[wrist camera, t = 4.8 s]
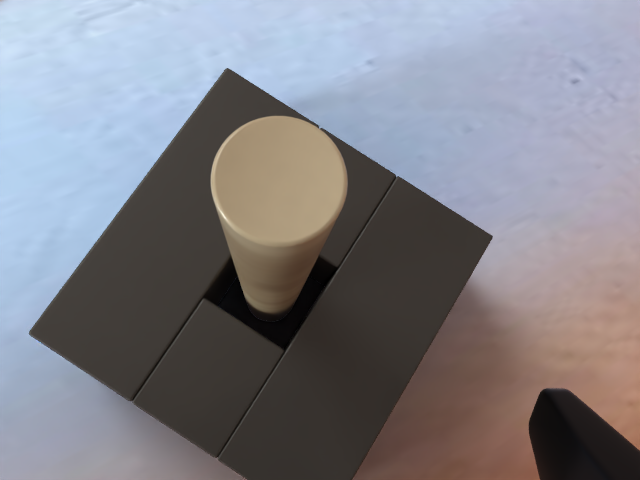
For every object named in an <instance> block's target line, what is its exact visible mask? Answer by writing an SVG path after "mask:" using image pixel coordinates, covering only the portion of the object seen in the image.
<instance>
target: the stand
mask: <svg viewBox="0 0 640 480" xmlns="http://www.w3.org/2000/svg"><path fill="white" fill-rule="evenodd" d="M269 116H288V117H294V118H297V119H301V120H303V121H306V122H308V123H310V124H312V125H314V126H316V127H317V128H319V126H318V125H317V124H315V123H313V122H312V121H310V120H309V119H307V118H306V117H304V116H303V115H301V114H299V113H298V112H296V111H295V110H293V109H292V108H290V107H288V106H287V105H285V104H284V103H282V102H281V101H279V100H277V99H276V98H274V97H273V96H271V95H270V94H268V93H266V92H265V91H263V90H262V89H260V88H259V87H257V86H255V85H254V84H252V83H251V82H249V81H248V80H246V79H244V78H243V77H241V76H240V75H238V74H237V73H235V72H233V71H232V70H230V69H228V68H227V69H225V70H224V72H223V73H222V74H221V76H220V77H219V78H218V80H217V81H216V82H215V84H214V85H213V87H212V88H211V89H210V91H209V92H208V93H207V95H206V96H205V97H204V99H203V100H202V101H201V103H200V104H199V105H198V107H197V108H196V109H195V111H194V112H193V113H192V115H191V116H190V117H189V119H188V120H187V121H186V123H185V124H184V125H183V127H182V128H181V129H180V131H179V132H178V133H177V135H176V136H175V137H174V139H173V140H172V141H171V143H170V144H169V145H168V147H167V148H166V149H165V151H164V152H163V153H162V155H161V156H160V157H159V159H158V160H157V161H156V163H155V164H154V165H153V167H152V168H151V169H150V171H149V172H148V173H147V175H146V176H145V177H144V179H143V180H142V181H141V183H140V184H139V185H138V187H137V188H136V189H135V191H134V192H133V193H132V195H131V196H130V198H129V199H128V200H127V202H126V203H125V204H124V206H123V207H122V208H121V210H120V211H119V212H118V214H117V215H116V216H115V218H114V219H113V220H112V222H111V223H110V224H109V226H108V227H107V228H106V230H105V231H104V232H103V234H102V235H101V236H100V238H99V239H98V240H97V242H96V243H95V244H94V246H93V247H92V248H91V250H90V251H89V252H88V254H87V255H86V256H85V258H84V259H83V260H82V262H81V263H80V264H79V266H78V267H77V268H76V270H75V271H74V272H73V274H72V275H71V276H70V278H69V279H68V280H67V282H66V283H65V284H64V286H63V287H62V288H61V290H60V291H59V292H58V294H57V295H56V296H55V298H54V299H53V300H52V302H51V303H50V304H49V306H48V307H47V308H46V310H45V311H44V313H43V314H42V315H41V317H40V318H39V319H38V321H37V322H36V323H35V325H34V326H33V327H32V329H31V330H30V331H29V334H30V336H32V337H33V338H35V339H36V340H38V341H39V342H41V343H42V344H44V345H45V346H47V347H48V348H50V349H51V350H53V351H54V352H56V353H57V354H59V355H60V356H62V357H63V358H65V359H66V360H68V361H69V362H71V363H72V364H74V365H75V366H77V367H78V368H80V369H81V370H83V371H85V372H86V373H88V374H89V375H91V376H92V377H94V378H95V379H97V380H98V381H100V382H101V383H103V384H104V385H106V386H107V387H109V388H110V389H112V390H113V391H115V392H116V393H118V394H119V395H121V396H122V397H124V398H125V399H127V400H128V401H133V404H134V405H136V406H137V407H139V408H140V409H142V410H143V411H145V412H146V413H148V414H149V415H151V416H152V417H154V418H155V419H157V420H158V421H160V422H161V423H163V424H164V425H166V426H167V427H169V428H170V429H172V430H174V431H175V432H177V433H178V434H180V435H181V436H183V437H184V438H186V439H187V440H189V441H190V442H192V443H193V444H195V445H196V446H198V447H199V448H201V449H202V450H204V451H205V452H207V453H208V454H210V455H211V456H213V457H215V458H217V457H218V460H219V461H220V462H222V463H223V464H225V465H226V466H228V467H229V468H231V469H232V470H234V471H235V472H237V473H238V474H240V475H241V476H243V477H244V478H246V479H247V480H352V479H353V477H354V475H355V474H356V472H357V470H358V469H359V467H360V465H361V463H362V462H363V460H364V458H365V456H366V455H367V453H368V451H369V450H370V448H371V446H372V444H373V443H374V441H375V439H376V438H377V436H378V434H379V432H380V431H381V429H382V427H383V426H384V424H385V422H386V420H387V419H388V417H389V415H390V413H391V412H392V410H393V408H394V407H395V405H396V403H397V401H398V400H399V398H400V396H401V395H402V393H403V391H404V389H405V388H406V386H407V384H408V383H409V381H410V379H411V377H412V376H413V374H414V372H415V370H416V369H417V367H418V365H419V364H420V362H421V360H422V358H423V357H424V355H425V353H426V352H427V350H428V348H429V346H430V345H431V343H432V341H433V339H434V338H435V336H436V334H437V333H438V331H439V329H440V327H441V326H442V324H443V322H444V321H445V319H446V317H447V315H448V314H449V312H450V310H451V309H452V307H453V305H454V303H455V302H456V300H457V298H458V296H459V295H460V293H461V291H462V290H463V288H464V286H465V284H466V283H467V281H468V279H469V278H470V276H471V274H472V272H473V271H474V269H475V267H476V266H477V264H478V262H479V260H480V259H481V257H482V255H483V253H484V252H485V250H486V248H487V247H488V245H489V243H490V241H491V240H492V237H493V236H492V235H490V234H488V233H487V232H485V231H484V230H482V229H481V228H479V227H477V226H476V225H474V224H473V223H471V222H470V221H468V220H466V219H465V218H463V217H462V216H460V215H459V214H457V213H455V212H454V211H452V210H451V209H449V208H448V207H446V206H444V205H443V204H441V203H440V202H438V201H437V200H435V199H433V198H432V197H430V196H429V195H427V194H426V193H424V192H422V191H421V190H419V189H418V188H416V187H415V186H413V185H411V184H410V183H408V182H407V181H405V180H404V179H402V178H400V177H396V175H395V174H394V173H392V172H390V171H389V170H387V169H386V168H384V167H383V166H381V165H379V164H378V163H376V162H375V161H373V160H372V159H370V158H368V157H367V156H365V155H364V154H362V153H361V152H359V151H357V150H356V149H354V148H353V147H351V146H350V145H348V144H346V143H345V142H343V141H342V140H340V139H339V138H337V137H335V136H334V135H332V134H331V133H329V132H328V131H326V130H324V129H323V128H320V130H321V131H323V132H324V133H325V134H326V135H327V136H328V137H329V138H330V139H331V140H332V141H333V142H334V144H335V145H336V146H337V148H338V150H339V151H340V153H341V155H342V157H343V160H344V163H345V166H346V171H347V178H348V187H347V195H346V199H345V202H344V205H343V207H342V210H341V212H340V214H339V216H338V218H337V220H336V222H335V224H334V226H333V228H332V230H331V232H330V234H329V236H328V238H327V240H326V242H325V244H324V246H323V248H322V250H321V252H320V254H319V256H318V258H317V260H316V262H315V264H314V266H313V268H312V270H311V272H310V274H309V276H310V277H311V278H313V279H314V280H316V281H317V282H319V283H320V284H322V285H325V284H326V285H325V286H324V288H323V289H322V291H321V292H320V294H319V295H318V297H317V299H316V300H315V302H314V303H313V305H312V306H311V308H310V310H309V311H308V313H307V314H306V316H305V317H304V319H303V320H302V322H301V324H300V325H299V327H298V328H297V330H296V331H295V333H294V335H293V336H292V338H291V339H290V341H289V342H288V344H287V346H286V347H285V349H282V348H281V347H279V346H278V345H276V344H275V343H273V342H272V341H270V340H269V339H267V338H266V337H264V336H263V335H261V334H259V333H258V332H256V331H255V330H253V329H252V328H250V327H249V326H247V325H246V324H244V323H243V322H241V321H240V320H238V319H236V318H235V317H233V316H232V315H230V314H229V313H227V312H226V311H224V310H223V309H221V308H220V307H218V304H219V303H220V301H221V300H222V299H223V297H224V296H225V294H226V293H227V291H228V290H229V288H230V287H231V285H232V284H233V282H234V281H235V279H236V278H237V276H238V275H237V272H236V268H235V265H234V262H233V259H232V256H231V253H230V250H229V247H228V244H227V240H226V237H225V234H224V231H223V228H222V225H221V222H220V219H219V216H218V212H217V209H216V206H215V203H214V200H213V196H212V191H211V171H212V165H213V162H214V159H215V157H216V154H217V152H218V150H219V149H220V147H221V145H222V144H223V143H224V141H225V140H226V139H227V138H228V137H229V136H230V135H231V134H232V133H233V132H234V131H235V130H237V129H238V128H240V127H241V126H243V125H244V124H246V123H248V122H250V121H253V120H256V119H259V118H263V117H269Z"/></svg>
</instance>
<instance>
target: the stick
mask: <svg viewBox="0 0 640 480" xmlns="http://www.w3.org/2000/svg"><path fill="white" fill-rule="evenodd" d="M347 187H348V178H347V171H346V166H345V163H344V160H343V157H342V155H341V153H340V151H339V150H338V148H337V146H336V145H335V144H334V142H333V141H332V140H331V139H330V138H329V137H328V136H327V135H326V134H325V133H324V132H323V131H321V130H320V129H319V128H317V127H316V126H314V125H312V124H310V123H308V122H306V121H303V120H301V119H297V118H294V117H288V116H269V117H263V118H259V119H256V120H253V121H250V122H248V123H246V124H244V125H243V126H241V127H240V128H238V129H237V130H235V131H234V132H233V133H232V134H231V135H230V136H229V137H228V138H227V139H226V140H225V141H224V143H223V144H222V145H221V147H220V149H219V150H218V152H217V154H216V157H215V159H214V162H213V165H212V171H211V191H212V196H213V200H214V203H215V206H216V209H217V212H218V216H219V219H220V222H221V225H222V228H223V231H224V234H225V237H226V240H227V244H228V247H229V250H230V253H231V256H232V259H233V262H234V265H235V268H236V272H237V275H238V278H239V281H240V284H241V287H242V290H243V293H244V296H245V300H246V303H247V306H248V308H249V310H250V312H251V313H252V314H253V315H254V316H255V317H256V318H258V319H260V320H262V321H266V322H274V321H278V320H281V319H283V318H284V317H286V316H287V315H288V314H289V312H290V311H291V309H292V308H293V306H294V304H295V302H296V300H297V298H298V296H299V294H300V292H301V290H302V288H303V286H304V284H305V282H306V280H307V278H308V276H309V274H310V272H311V270H312V268H313V266H314V264H315V262H316V260H317V258H318V256H319V254H320V252H321V250H322V248H323V246H324V244H325V242H326V240H327V238H328V236H329V234H330V232H331V230H332V228H333V226H334V224H335V222H336V220H337V218H338V216H339V214H340V212H341V210H342V207H343V205H344V202H345V199H346V195H347Z"/></svg>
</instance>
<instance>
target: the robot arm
mask: <svg viewBox="0 0 640 480" xmlns="http://www.w3.org/2000/svg"><path fill="white" fill-rule="evenodd" d="M529 435H530V439H531V444H532V448H533V452H534V456H535V460H536V465H537V469H538V473H539V477H540V480H640V451H639V450H638V449H637V448H636V447H635V446H634V445H632V444H631V443H630V442H629V441H628V440H627V439H626V438H624V437H623V436H622V435H621V434H620V433H619V432H617V431H616V430H615V429H614V428H613V427H612V426H610V425H609V424H608V423H607V422H606V421H605V420H603V419H602V418H601V417H600V416H599V415H598V414H596V413H595V412H594V411H593V410H592V409H591V408H589V407H588V406H587V405H586V404H585V403H584V402H583V401H581V400H580V399H579V398H578V397H577V396H576V395H574V394H573V393H572V392H571V391H569V390H567V389H563V388H546V389H543V390H542V391H541V392H540V394H539V396H538V399H537V401H536V404H535V407H534V409H533V412H532V415H531V417H530V420H529Z"/></svg>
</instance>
